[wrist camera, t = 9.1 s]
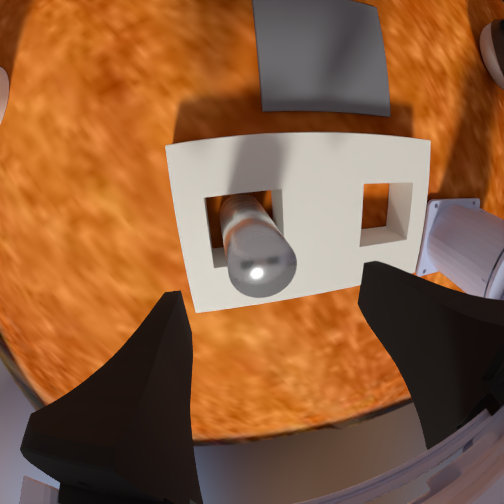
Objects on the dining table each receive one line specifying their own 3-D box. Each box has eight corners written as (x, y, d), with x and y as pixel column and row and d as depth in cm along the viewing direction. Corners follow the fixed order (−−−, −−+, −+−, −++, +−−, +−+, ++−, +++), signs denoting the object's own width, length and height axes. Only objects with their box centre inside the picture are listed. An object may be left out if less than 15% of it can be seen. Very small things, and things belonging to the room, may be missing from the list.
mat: (373, 8, 13) (376, 7, 12) (387, 116, 17) (390, 116, 17) (250, -11, 12) (251, -13, 11) (262, 111, 16) (263, 111, 16)
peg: (261, 191, 18) (297, 232, 11) (262, 231, 20) (295, 292, 12) (217, 195, 18) (225, 240, 11) (221, 236, 19) (231, 301, 12)
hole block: (406, 136, 18) (430, 140, 15) (396, 257, 23) (414, 272, 20) (172, 143, 16) (165, 145, 13) (196, 289, 21) (195, 312, 18)
